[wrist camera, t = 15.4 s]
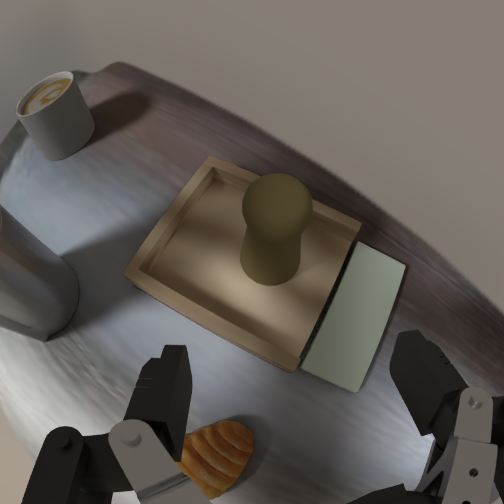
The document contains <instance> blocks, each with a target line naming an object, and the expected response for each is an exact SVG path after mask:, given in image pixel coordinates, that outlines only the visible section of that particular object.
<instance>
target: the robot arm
mask: <svg viewBox="0 0 504 504" xmlns="http://www.w3.org/2000/svg"><path fill="white" fill-rule="evenodd" d="M78 298H79V285H78V280H77V277H76V274H75V272H74V270H73V269H72V268H71V267H70V266H69V265H68V264H67V263H66V262H65V261H64V260H63V259H62V258H61V257H59V256H58V255H56V254H55V253H54V252H53V251H52V250H50V249H49V248H48V247H47V246H46V245H44V244H43V243H42V242H41V241H40V240H39V239H37V238H36V237H35V236H34V235H33V234H32V233H31V232H29V231H28V230H27V229H26V228H25V227H24V226H23V225H22V224H21V223H19V222H18V221H17V220H16V219H15V218H14V217H13V216H12V215H11V214H10V213H9V212H8V211H7V210H6V209H4V208H3V207H2V206H1V205H0V327H2V328H5V329H8V330H10V331H13V332H16V333H19V334H21V335H24V336H27V337H30V338H33V339H36V340H39V341H42V342H46V340H47V338H48V337H49V336H50V335H51V334H53V333H56V332H58V331H60V330H61V329H62V328H64V327H65V326H66V324H67V323H68V322H69V321H70V319H71V318H72V316H73V314H74V312H75V309H76V307H77V303H78ZM390 375H391V377H392V379H393V381H394V383H395V385H396V387H397V389H398V391H399V393H400V395H401V396H402V398H403V400H404V402H405V404H406V406H407V408H408V410H409V412H410V414H411V416H412V418H413V420H414V422H415V424H416V426H417V428H418V430H419V432H420V434H421V436H424V435H428V434H431V433H433V435H434V437H435V439H434V441H433V443H432V446H431V450H430V453H429V456H428V460H427V463H426V466H425V469H424V472H423V475H422V477H421V480H420V482H419V484H418V485H417V487H416V489H415V490H414V491H406V490H405V487H404V484H399V485H396V486H392V487H389V488H385V489H381V490H377V491H373V492H371V493H369V494H367V495H365V496H363V497H361V498H358V499H356V500H354V501H352V502H349V503H347V504H489V502H490V497H491V492H492V486H493V481H494V483H495V485H496V488H497V490H498V492H499V495H500V497H501V499H502V502H503V504H504V396H499V397H491V396H490V394H489V393H488V392H487V391H485V390H484V389H481V388H479V387H468V385H467V384H466V382H465V381H464V380H463V378H462V377H461V376H460V374H459V373H458V371H457V370H456V369H455V367H454V366H453V365H452V364H450V361H449V359H448V358H447V357H445V354H444V353H443V352H442V350H441V349H440V348H439V347H438V346H437V345H435V344H434V343H432V342H431V341H429V340H428V341H427V340H426V339H425V338H424V336H423V335H422V334H421V332H420V331H419V330H412V331H405V332H400V333H399V334H398V337H397V340H396V344H395V347H394V351H393V354H392V357H391V361H390ZM191 395H192V374H191V369H190V363H189V358H188V352H187V347H186V345H165V346H164V348H163V351H162V354H161V358H151V359H150V360H149V361H148V362H147V363H146V364H145V365H144V366H143V367H142V370H141V372H140V375H139V379H138V380H137V383H136V388H135V389H134V391H133V394H132V397H131V400H130V403H129V405H128V408H127V411H126V414H125V417H124V419H123V421H122V422H120V423H118V424H116V425H115V426H114V427H113V428H112V429H111V431H110V432H109V433H106V434H102V435H92V436H82V435H81V433H80V432H79V431H78V430H76V429H75V428H73V427H68V426H62V427H58V428H56V429H54V430H52V431H51V432H50V433H49V434H48V435H47V436H46V438H45V441H44V443H43V445H42V448H41V450H40V453H39V455H38V458H37V461H36V463H35V466H34V468H33V471H32V474H31V477H30V479H29V482H28V485H27V488H26V491H25V494H24V497H23V501H22V503H21V504H111V501H112V496H113V492H124V491H133V490H134V491H135V492H136V494H137V498H138V500H139V501H140V503H141V504H212V503H211V502H210V501H209V500H208V499H207V497H206V496H205V495H204V494H203V493H202V491H201V490H200V489H199V488H198V487H197V485H196V484H195V483H194V482H193V481H192V479H191V478H190V477H189V476H188V475H185V474H184V473H183V472H182V471H181V470H180V468H179V467H178V466H177V464H176V463H175V462H181V458H182V451H183V445H184V438H185V432H186V425H187V419H188V413H189V407H190V401H191Z"/></svg>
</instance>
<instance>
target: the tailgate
mask: <svg viewBox="0 0 504 504" xmlns="http://www.w3.org/2000/svg"><path fill="white" fill-rule="evenodd" d="M404 269H405V265H403V264H401V263H400V262H398V261H396V260H394V259H392V258H390V257H388V256H386V255H384V254H382V253H380V252H378V251H377V250H375V249H373V248H371V247H369V246H367V245H365V244H363V243H361V242H359V241H358V242H357V244H356V245H355V247H354V250H353V252H352V255H351V257H350V259H349V262H348V264H347V267H346V269H345V271H344V274H343V276H342V278H341V281H340V283H339V285H338V288H337V290H336V292H335V294H334V297H333V299H332V301H331V303H330V305H329V308H328V310H327V312H326V314H325V316H324V318H323V321H322V323H321V325H320V327H319V329H318V331H317V333H316V335H315V337H314V339H313V341H312V344H311V346H310V348H309V350H308V352H307V354H306V356H305V358H304V360H303V361H302V363H301V365H300V367H299V368H300V369H302V370H304V371H306V372H308V373H310V374H312V375H314V376H317V377H319V378H321V379H323V380H325V381H327V382H330V383H332V384H334V385H336V386H338V387H341V388H343V389H345V390H347V391H350V392H352V393H357V392H358V390H359V388H360V386H361V384H362V382H363V379H364V377H365V375H366V373H367V370H368V368H369V366H370V363H371V361H372V359H373V356H374V354H375V351H376V349H377V346H378V344H379V341H380V339H381V336H382V334H383V331H384V328H385V326H386V323H387V320H388V318H389V315H390V312H391V309H392V306H393V304H394V301H395V298H396V295H397V292H398V289H399V286H400V282H401V279H402V276H403V273H404Z"/></svg>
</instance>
